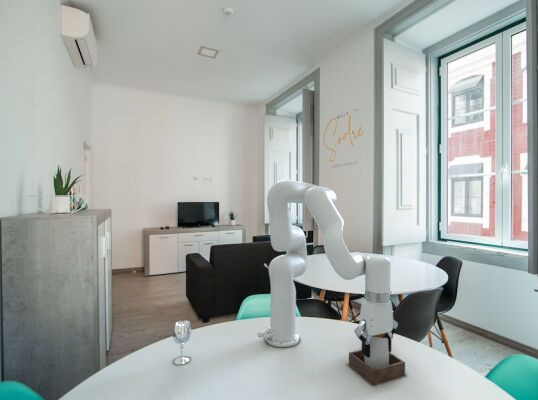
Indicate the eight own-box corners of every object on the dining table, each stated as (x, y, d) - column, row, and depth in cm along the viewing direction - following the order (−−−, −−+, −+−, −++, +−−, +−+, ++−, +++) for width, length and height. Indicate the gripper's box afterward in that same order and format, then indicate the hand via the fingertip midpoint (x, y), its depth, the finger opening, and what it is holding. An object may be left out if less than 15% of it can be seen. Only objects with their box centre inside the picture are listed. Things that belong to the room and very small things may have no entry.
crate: (373, 385, 84) (373, 371, 84) (348, 365, 95) (348, 352, 95) (405, 375, 90) (405, 362, 90) (378, 357, 100) (378, 345, 100)
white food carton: (388, 374, 90) (389, 341, 90) (365, 372, 91) (366, 339, 91) (386, 367, 93) (386, 336, 94) (364, 365, 94) (364, 334, 94)
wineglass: (194, 358, 97) (195, 321, 97) (181, 367, 91) (182, 328, 92) (181, 354, 99) (182, 318, 99) (167, 362, 94) (168, 324, 94)
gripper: (389, 289, 99) (388, 342, 99) (347, 295, 92) (346, 352, 92) (407, 296, 93) (406, 352, 92) (363, 303, 85) (362, 364, 85)
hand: (376, 352), depth 92 cm, fingers closed on white food carton, 7 cm apart
